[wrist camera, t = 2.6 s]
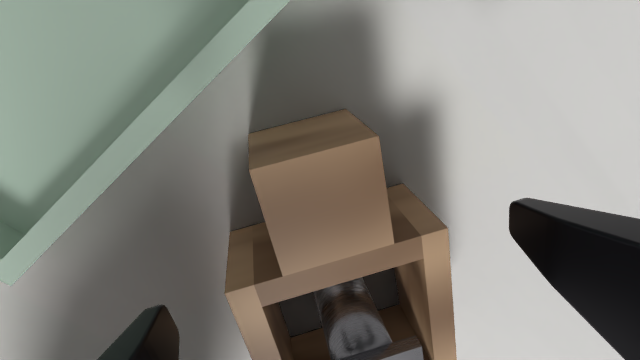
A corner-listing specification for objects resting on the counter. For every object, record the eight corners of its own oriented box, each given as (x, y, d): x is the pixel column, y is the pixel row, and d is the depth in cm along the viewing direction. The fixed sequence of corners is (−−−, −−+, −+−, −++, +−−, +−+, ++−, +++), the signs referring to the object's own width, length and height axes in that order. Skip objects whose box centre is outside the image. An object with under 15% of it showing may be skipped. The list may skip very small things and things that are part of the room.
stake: (377, 283, 18) (425, 379, 13) (301, 306, 18) (322, 414, 13) (370, 245, 17) (420, 333, 12) (289, 269, 17) (307, 369, 12)
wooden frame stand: (418, 312, 20) (457, 376, 16) (276, 356, 19) (283, 434, 15) (392, 96, 15) (440, 119, 11) (197, 146, 14) (180, 188, 10)
